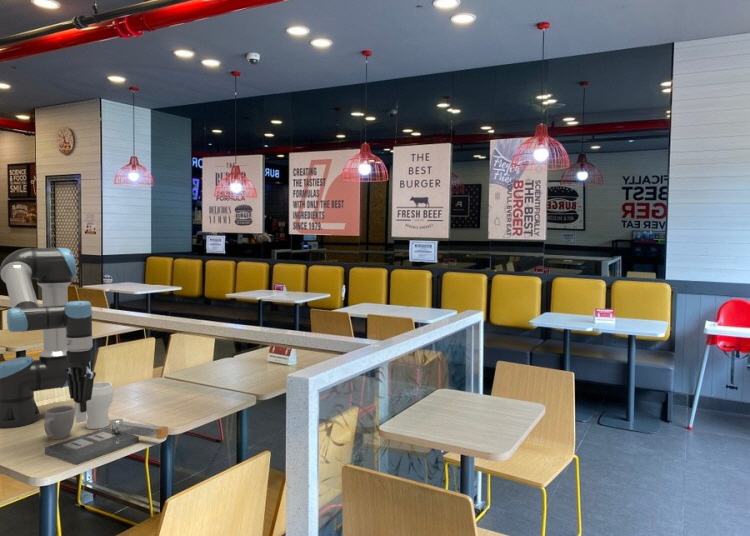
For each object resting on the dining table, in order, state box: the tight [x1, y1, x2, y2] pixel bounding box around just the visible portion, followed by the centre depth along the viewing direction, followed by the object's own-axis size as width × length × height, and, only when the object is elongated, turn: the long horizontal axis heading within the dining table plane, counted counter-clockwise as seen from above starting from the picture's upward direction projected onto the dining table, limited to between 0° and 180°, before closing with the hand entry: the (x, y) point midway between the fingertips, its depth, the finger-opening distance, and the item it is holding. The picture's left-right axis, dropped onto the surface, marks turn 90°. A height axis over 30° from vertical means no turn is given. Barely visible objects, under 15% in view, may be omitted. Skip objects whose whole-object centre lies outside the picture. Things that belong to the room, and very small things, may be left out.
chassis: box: [44, 427, 140, 465], centre depth 186 cm, size 17×22×2 cm
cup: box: [85, 381, 114, 430], centre depth 207 cm, size 11×11×15 cm
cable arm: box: [111, 418, 169, 440], centre depth 192 cm, size 22×4×4 cm, turn 70°
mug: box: [43, 405, 75, 440], centre depth 194 cm, size 12×9×10 cm
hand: (81, 421), depth 184 cm, fingers closed
